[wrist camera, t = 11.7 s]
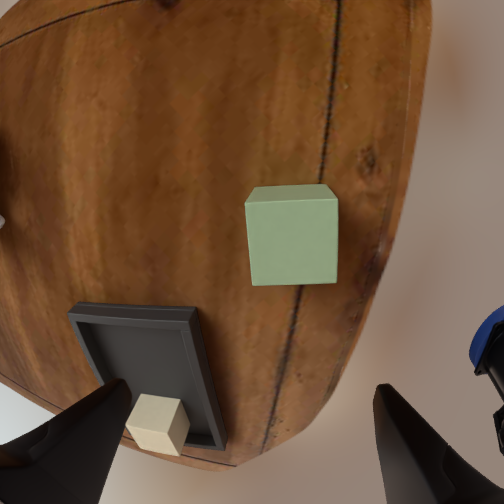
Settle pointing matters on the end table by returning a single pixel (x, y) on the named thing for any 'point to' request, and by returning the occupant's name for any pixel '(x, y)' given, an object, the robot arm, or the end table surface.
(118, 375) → the tray
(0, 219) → the figurine
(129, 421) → the block
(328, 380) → the end table surface
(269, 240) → the block
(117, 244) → the end table surface
